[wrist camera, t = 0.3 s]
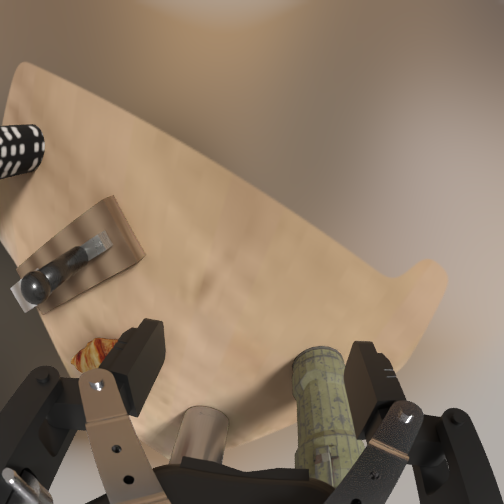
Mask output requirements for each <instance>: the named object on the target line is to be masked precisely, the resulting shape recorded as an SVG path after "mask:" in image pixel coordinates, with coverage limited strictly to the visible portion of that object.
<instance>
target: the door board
mask: <svg viewBox="0 0 504 504" xmlns="http://www.w3.org/2000/svg"><path fill="white" fill-rule="evenodd" d="M104 230H105V231H106V233H107V235H108V237H109V239H110V240H111V242H112V244H113V246H111V247H110V248H108V249H107V250H105V251H104V252H102V253H101V254H99V255H97V256H96V257H94V258H92V259H91V260H89V261H88V263H87V265H86V266H85V267H84V268H82V269H81V270H80V271H78V272H77V273H76V274H74V275H73V276H72V277H70V278H69V279H68V280H66V281H65V282H64V283H62V284H61V285H60V286H59V287H57V288H56V289H55V290H53V291H52V292H51V293H50V295H49V297H48V299H47V300H46V301H45V302H44V303H42V304H39V305H34V304H31V303H29V302H27V301H26V300H25V299H24V297H23V295H22V293H21V281H22V279H23V277H24V276H25V274H27V273H28V272H30V271H34V270H36V271H37V270H39V269H40V268H42V267H43V266H45V265H46V264H48V263H49V262H51V261H52V260H54V259H56V258H57V257H59V256H60V255H62V254H64V253H65V252H67V251H69V250H70V249H72V248H73V247H75V246H81V245H83V244H84V243H86V242H87V241H89V240H90V239H92V238H93V237H95V236H96V235H98V234H99V233H101V232H103V231H104ZM145 255H146V254H145V252H144V250H143V248H142V247H141V245H140V243H139V241H138V240H137V238H136V236H135V234H134V233H133V231H132V229H131V227H130V225H129V223H128V222H127V220H126V218H125V216H124V214H123V212H122V211H121V209H120V207H119V205H118V203H117V201H116V199H115V197H114V195H113V196H110V197H108V198H105V199H103V200H101V201H100V202H98V203H97V204H96V205H94V206H93V207H92V208H90V209H89V210H87V211H86V212H85V213H83V214H82V215H81V216H79V217H78V218H77V219H75V220H74V221H73V222H72V223H70V224H69V225H68V226H66V227H65V228H64V229H63V230H61V231H60V232H59V233H58V234H56V235H55V236H54V237H53V238H51V239H50V240H49V241H48V242H47V243H45V244H44V245H43V246H42V247H41V248H39V249H38V250H37V251H36V252H35V253H34V254H32V255H31V256H30V257H29V258H28V259H27V260H26V261H24V262H23V263H22V264H21V265H20V266H19V267H18V268H17V269H16V270H17V272H18V274H19V276H20V278H21V280H20V281H19V282H18V283H16V284H15V285H14V286H13V287H12V288H11V290H12V292H13V294H14V296H15V297H16V299H17V301H18V302H19V304H20V306H21V307H22V309H23V310H24V312H25V313H26V312H27V311H29V310H30V309H32V308H33V307H35V306H37V307H38V308H39V310H40V311H41V313H42V314H43V315H44V314H45V313H47V312H49V311H50V310H52V309H54V308H56V307H57V306H59V305H61V304H63V303H64V302H66V301H68V300H70V299H71V298H73V297H75V296H77V295H78V294H80V293H82V292H84V291H86V290H87V289H89V288H91V287H93V286H95V285H96V284H98V283H100V282H102V281H104V280H106V279H107V278H109V277H111V276H113V275H115V274H117V273H119V272H120V271H122V270H124V269H126V268H128V267H130V266H132V265H134V264H135V263H137V262H139V261H140V260H141V259H142V258H143V257H144V256H145Z"/></svg>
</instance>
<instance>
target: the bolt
mask: <svg viewBox="0 0 504 504" xmlns="http://www.w3.org/2000/svg"><path fill="white" fill-rule="evenodd" d="M111 246H113V244H112V242H111V240H110V239H109V237H108V235H107V233H106V231H105V230H104V231H103V232H101V233H99V234H98V235H96V236H95V237H93V238H92V239H90V240H89V241H87V242H86V243H84V244H83V245H81V246H75V247H73V248H72V249H70V250H69V251H67V252H65V253H64V254H62V255H60V256H59V257H57V258H56V259H54V260H52V261H51V262H49V263H48V264H46V265H45V266H43V267H42V268H40V269H39V270H37V271H36V270H34V271H30V272H28V273H27V274H25V276H24V277H23V279H22V281H21V293H22V295H23V297H24V299H25V300H26V301H27V302H29V303H31V304H34V305H39V304H42V303H44V302H45V301H46V300H47V299H48V297H49V295H50V293H51V292H52V291H53V290H55V289H56V288H57V287H59V286H60V285H61V284H62V283H64V282H65V281H66V280H68V279H69V278H70V277H72V276H73V275H74V274H76V273H77V272H78V271H80V270H81V269H82V268H84V267H85V266H86V265H87V263H88V261H89V260H91V259H92V258H94V257H96V256H97V255H99V254H101V253H102V252H104V251H105V250H107V249H108V248H110V247H111Z"/></svg>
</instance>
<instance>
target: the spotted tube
mask: <svg viewBox="0 0 504 504" xmlns="http://www.w3.org/2000/svg"><path fill="white" fill-rule="evenodd" d="M44 148H45V143H44V137H43V134H42V132H41V130H40V129H39V127H37V126H36V125H33V124H30V125H9V126H0V179H3V178H7V177H11V176H15V175H20V174H24V173H28V172H32V171H34V170H35V169H37V168H38V166H39V165H40V163H41V161H42V158H43V155H44Z"/></svg>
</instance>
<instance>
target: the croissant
mask: <svg viewBox="0 0 504 504" xmlns="http://www.w3.org/2000/svg"><path fill="white" fill-rule="evenodd" d="M116 342H118V340H116V339H109V340H108V339H104V338H95V339H94V340H93V341H91V342H89V343H88V344H87V346H86V347H85V348H84V349H82V350H81V351H79V353H77V354H76V355H75V356H74V357H72V359H71V364H73V365H74V366H75V367H76V369H77V370H78V371H80V372H86V371H88V370H91V369H96V368H98V367H99V366H100V364H101V363H102V361H103V360H104V359H105V357H106V356H107V354H108V353H109V352H110V350H111V349H112V348H113V346H114V345H115V343H116Z"/></svg>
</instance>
